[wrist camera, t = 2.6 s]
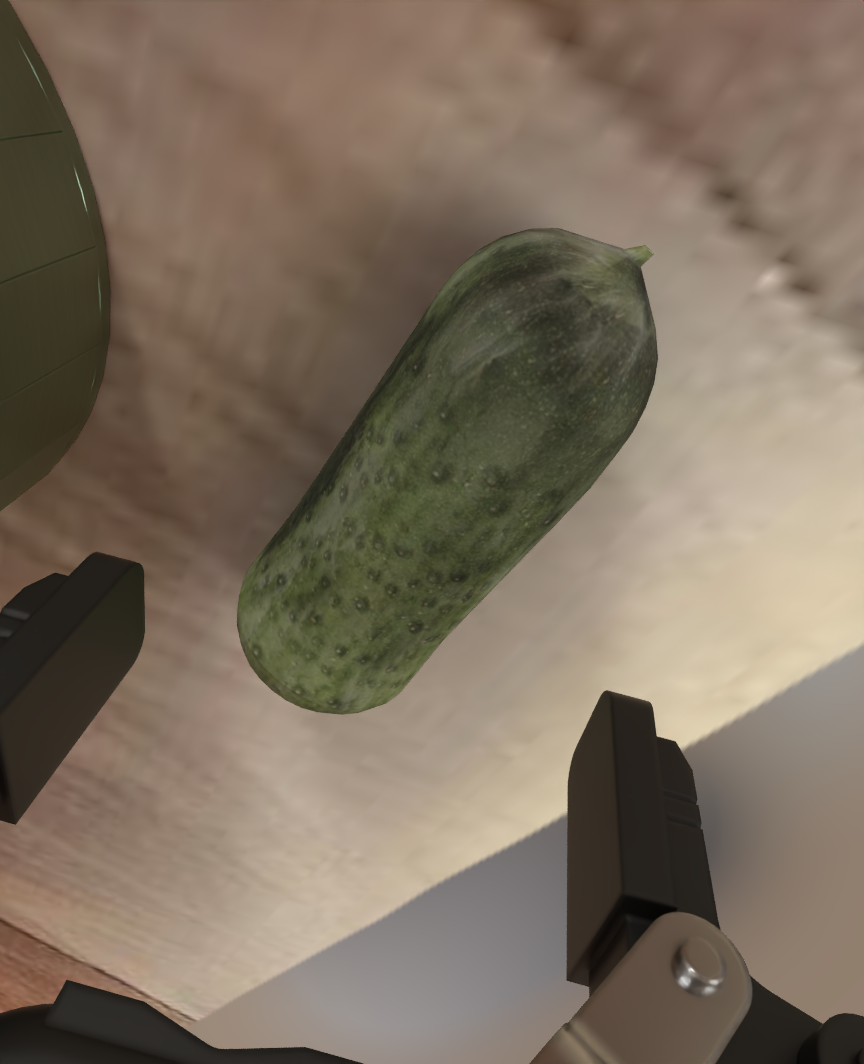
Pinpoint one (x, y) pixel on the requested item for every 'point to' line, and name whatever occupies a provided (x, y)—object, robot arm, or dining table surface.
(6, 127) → the green open cylinder
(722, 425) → the dining table surface
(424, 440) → the vegetable
